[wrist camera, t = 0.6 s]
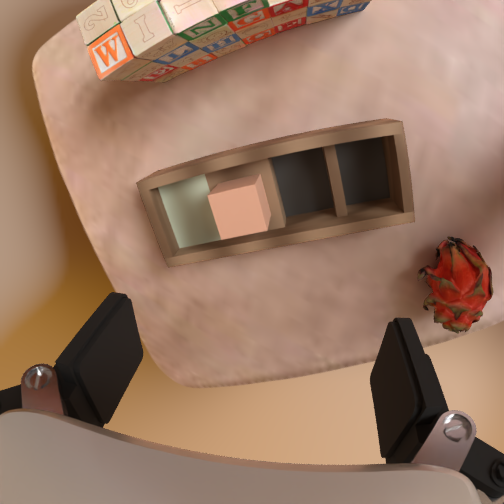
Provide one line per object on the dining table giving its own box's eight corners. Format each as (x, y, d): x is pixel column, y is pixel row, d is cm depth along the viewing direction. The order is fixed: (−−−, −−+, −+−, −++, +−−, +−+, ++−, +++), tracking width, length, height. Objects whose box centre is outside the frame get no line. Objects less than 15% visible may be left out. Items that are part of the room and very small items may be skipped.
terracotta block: (260, 173, 29) (254, 184, 25) (271, 214, 30) (267, 230, 27) (218, 183, 30) (207, 195, 26) (230, 223, 31) (221, 239, 28)
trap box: (386, 118, 27) (402, 121, 23) (399, 204, 31) (414, 221, 26) (157, 171, 33) (136, 182, 28) (183, 246, 36) (168, 267, 32)
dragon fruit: (439, 308, 37) (426, 222, 35) (497, 309, 31) (491, 216, 28) (418, 347, 32) (404, 251, 30) (486, 353, 26) (484, 247, 23)
